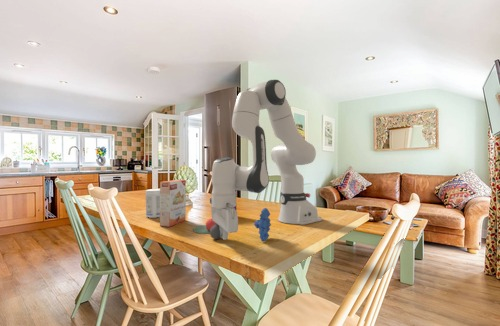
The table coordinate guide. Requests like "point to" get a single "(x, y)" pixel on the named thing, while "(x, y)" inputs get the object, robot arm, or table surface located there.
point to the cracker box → (172, 202)
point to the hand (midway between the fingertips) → (224, 238)
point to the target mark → (201, 229)
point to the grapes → (263, 224)
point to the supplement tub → (153, 203)
